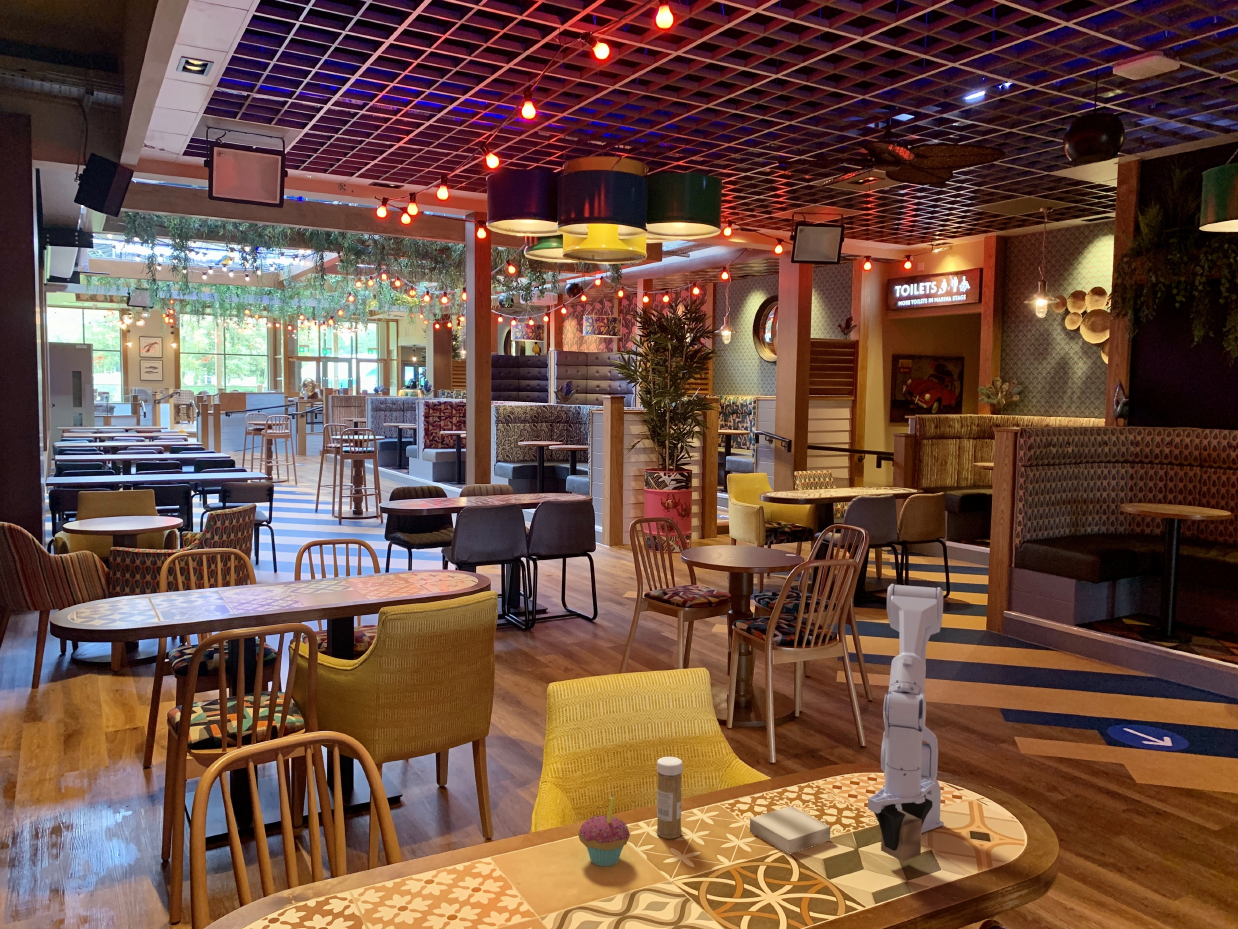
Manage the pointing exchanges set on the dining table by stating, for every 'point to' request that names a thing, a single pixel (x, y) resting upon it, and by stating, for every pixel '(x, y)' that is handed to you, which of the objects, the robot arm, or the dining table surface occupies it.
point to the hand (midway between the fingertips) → (900, 844)
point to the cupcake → (604, 837)
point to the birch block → (790, 829)
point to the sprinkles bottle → (669, 797)
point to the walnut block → (906, 839)
